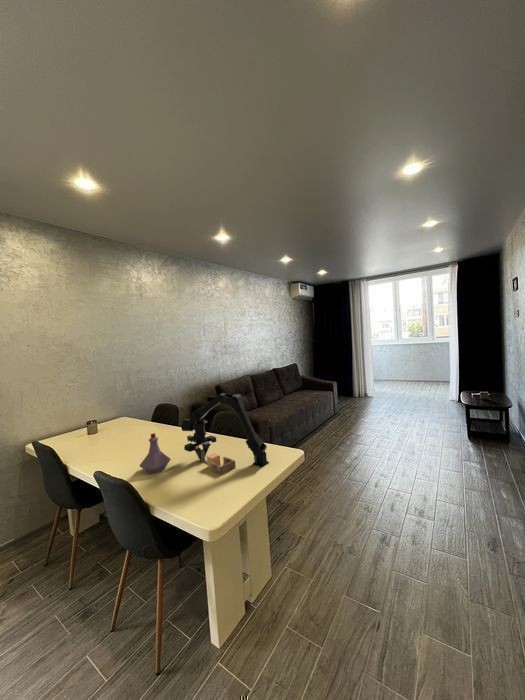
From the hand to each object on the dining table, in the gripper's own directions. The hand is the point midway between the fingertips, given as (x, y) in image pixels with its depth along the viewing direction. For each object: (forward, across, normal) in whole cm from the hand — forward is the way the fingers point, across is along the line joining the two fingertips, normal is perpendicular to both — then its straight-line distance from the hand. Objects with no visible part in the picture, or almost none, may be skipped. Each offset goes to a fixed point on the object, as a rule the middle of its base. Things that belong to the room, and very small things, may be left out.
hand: (202, 457), depth 155 cm
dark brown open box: (+2, 0, +19) cm, 19 cm away
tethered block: (+2, 0, +7) cm, 7 cm away
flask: (+2, +22, -12) cm, 25 cm away
